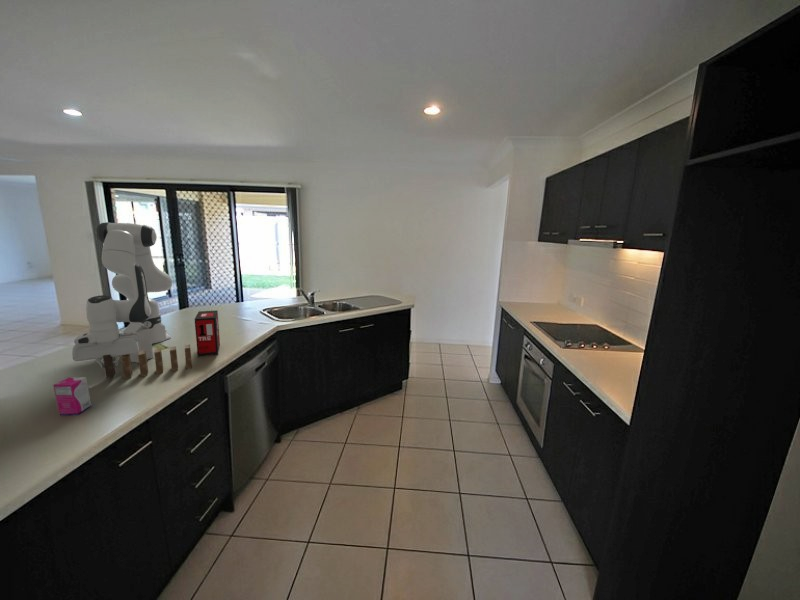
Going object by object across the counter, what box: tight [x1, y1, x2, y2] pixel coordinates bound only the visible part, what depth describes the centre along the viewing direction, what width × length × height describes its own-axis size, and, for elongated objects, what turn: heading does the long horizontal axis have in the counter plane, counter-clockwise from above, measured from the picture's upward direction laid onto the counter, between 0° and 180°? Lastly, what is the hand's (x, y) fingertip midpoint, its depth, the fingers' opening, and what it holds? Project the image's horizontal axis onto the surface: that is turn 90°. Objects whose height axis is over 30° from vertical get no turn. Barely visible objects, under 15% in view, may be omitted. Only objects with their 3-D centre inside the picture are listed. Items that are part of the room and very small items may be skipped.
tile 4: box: [153, 347, 164, 375], centre depth 141 cm, size 2×5×10 cm, turn 34°
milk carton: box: [122, 322, 154, 364], centre depth 152 cm, size 7×7×19 cm
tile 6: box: [183, 344, 193, 370], centre depth 147 cm, size 2×5×10 cm, turn 34°
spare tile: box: [102, 354, 116, 379], centre depth 132 cm, size 2×5×10 cm, turn 35°
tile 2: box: [120, 354, 133, 380], centre depth 135 cm, size 2×5×10 cm, turn 34°
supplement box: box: [52, 376, 93, 416], centre depth 108 cm, size 6×6×12 cm
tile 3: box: [138, 350, 149, 377], centre depth 138 cm, size 2×5×10 cm, turn 34°
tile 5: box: [169, 346, 179, 372], centre depth 144 cm, size 2×5×10 cm, turn 34°
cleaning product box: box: [194, 309, 221, 358], centre depth 167 cm, size 16×9×20 cm, turn 26°
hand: (109, 366), depth 132 cm, fingers closed on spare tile, 2 cm apart
